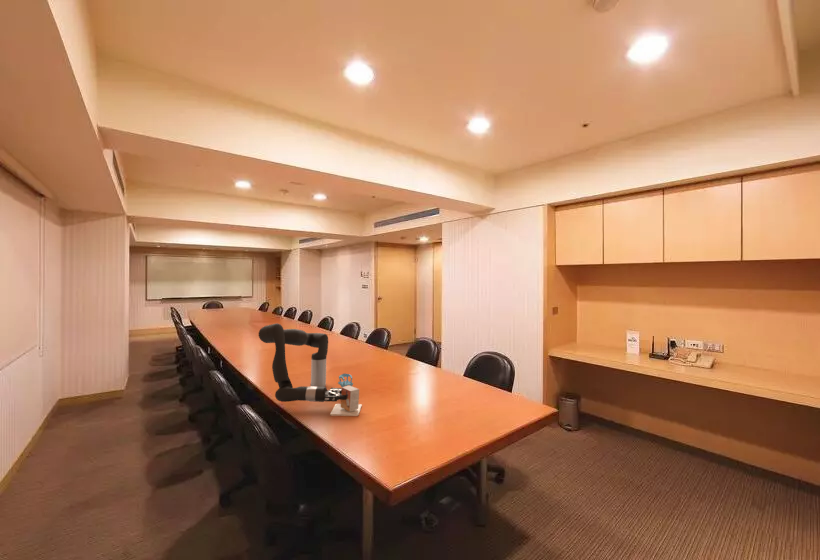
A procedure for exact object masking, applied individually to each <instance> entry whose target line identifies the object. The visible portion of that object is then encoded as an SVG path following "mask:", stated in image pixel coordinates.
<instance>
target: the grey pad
mask: <svg viewBox="0 0 820 560" xmlns="http://www.w3.org/2000/svg"><path fill="white" fill-rule="evenodd" d="M362 406H363V404H362V403H359V404H358V409H357V410H354V411H351V412H349V411H347V410H346V409H344V408H342V407H341V403H335V405H334V406H333V408H332V410H331V411H330V413H329V416H333V417H336V416H339V417H341V416H343V417H344V416H345V417H358V416H359V415H360V412H361V409H362Z"/></svg>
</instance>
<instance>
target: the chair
mask: <svg viewBox="0 0 820 560" xmlns="http://www.w3.org/2000/svg"><path fill="white" fill-rule="evenodd" d="M349 377H350V381H349ZM345 378H346V380H345ZM338 379H339V381H338V382H337V384H338V385H339V386H340V388H342V387H346V386H352V387H353V385H354V383H353V382H352V381H353V375H352V374H350V373H342V374H340V375H339V376H338Z"/></svg>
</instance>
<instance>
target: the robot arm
mask: <svg viewBox="0 0 820 560" xmlns="http://www.w3.org/2000/svg"><path fill="white" fill-rule="evenodd" d="M258 338H259V340H260V342H262V343H265V344H274V347H275V350H274V351H275V352H274V356H273V361H272V365H271V367H272V368H271V370H272V374H273V375H272V376H273V379H274V380H273V381H274V382H275V383H277V385H278V389H277V390H276V391H275V394H274V396H275V398H276V400H277V401H279V402H281V403H287V402H295V401H300V402H303V401H304V402H306V401H307V402H317V403H324V402H335V403H337V402H338V401H341V400H346V399H347V395H341V393H342V387H331V388H330V389H328V388H327V386H326V385H327V383H326V382H327V356H328V350H329V337H328V334H326V333H323V332H322V333H321V332H306V331H304V330H302V329H298V328H286V329H284V327H283V325H281V324H280V323H272V324H268V325H264V326H262V327H261V328H259V331H258ZM286 345H289V346H308V347H311V348H316V349H317V352H314V353H312V354H311V356H310V357H311V361H310V362H311V365H310V366H311V367H310V368H311V369H310V386H297V387H293V384H292V381H291V378H290V377H289V373H288V371H289V370H288V365H287V359H286Z"/></svg>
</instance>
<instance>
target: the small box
mask: <svg viewBox="0 0 820 560" xmlns="http://www.w3.org/2000/svg"><path fill="white" fill-rule="evenodd" d="M341 388H342V393H341V395H347V399H346V400H340V404H341V407H342V408H344V409H346V410H347V411H349V412H351V411H354V410H357V409H358V404H360V403H359V401H360V388H357V387H355V386H353V385H352V386H350V385H348V386H344V387H341Z"/></svg>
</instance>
